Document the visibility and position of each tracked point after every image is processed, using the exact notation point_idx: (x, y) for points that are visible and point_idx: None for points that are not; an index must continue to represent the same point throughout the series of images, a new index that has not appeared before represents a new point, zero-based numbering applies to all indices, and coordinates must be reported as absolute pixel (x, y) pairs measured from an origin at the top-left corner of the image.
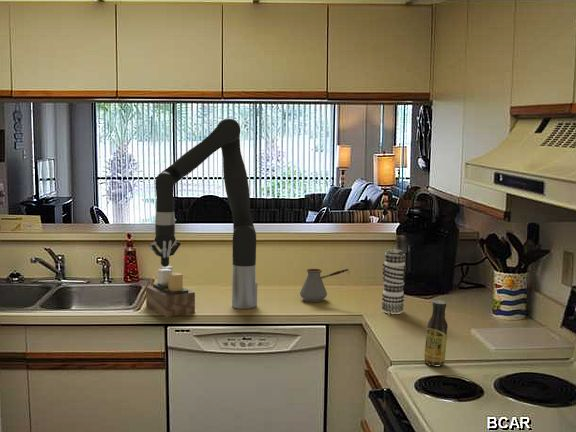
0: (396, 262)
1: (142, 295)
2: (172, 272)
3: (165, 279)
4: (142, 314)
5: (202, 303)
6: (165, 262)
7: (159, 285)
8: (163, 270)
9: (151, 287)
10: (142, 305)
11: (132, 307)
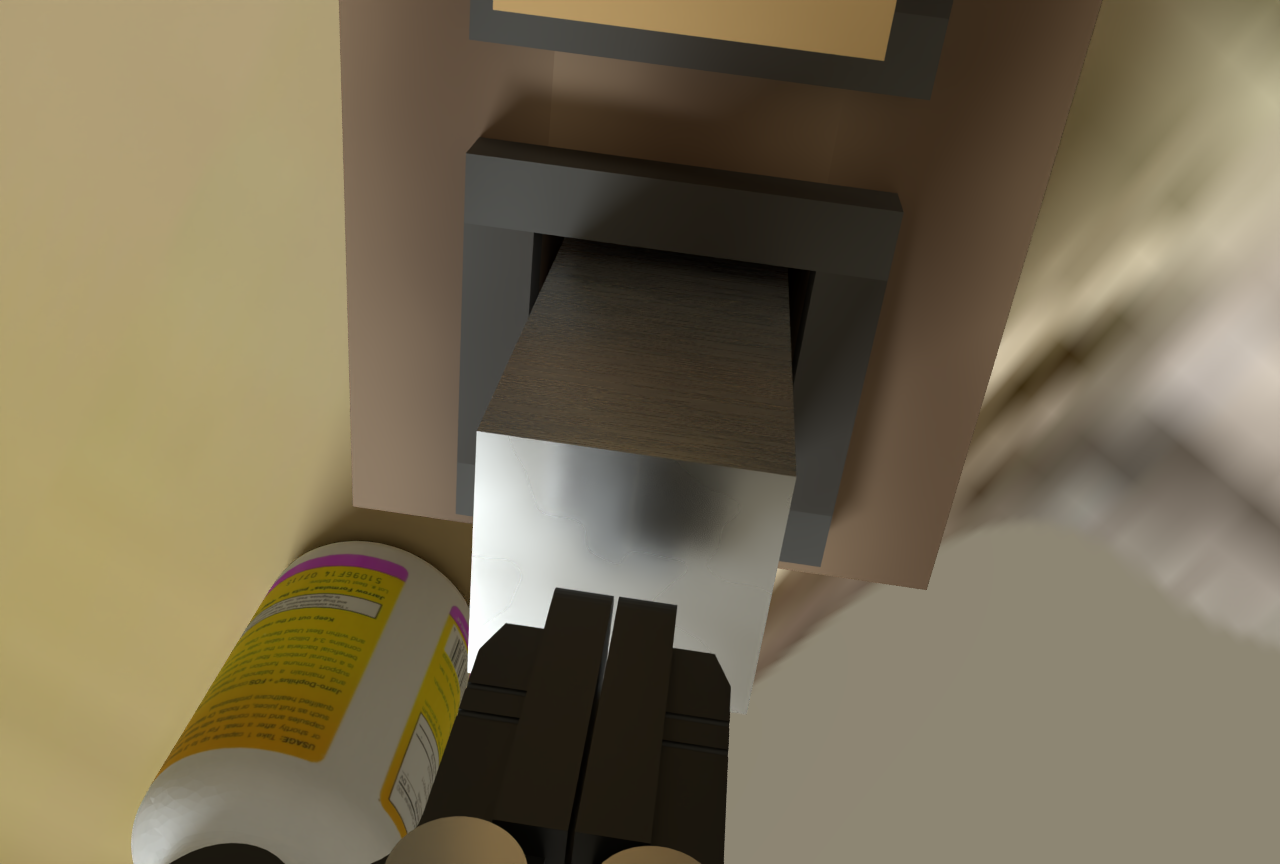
0: None
1: None
2: (164, 849)
3: (711, 346)
4: (1253, 60)
5: (75, 10)
6: (630, 691)
7: None
8: (705, 548)
9: (887, 493)
10: None
11: (1065, 479)
